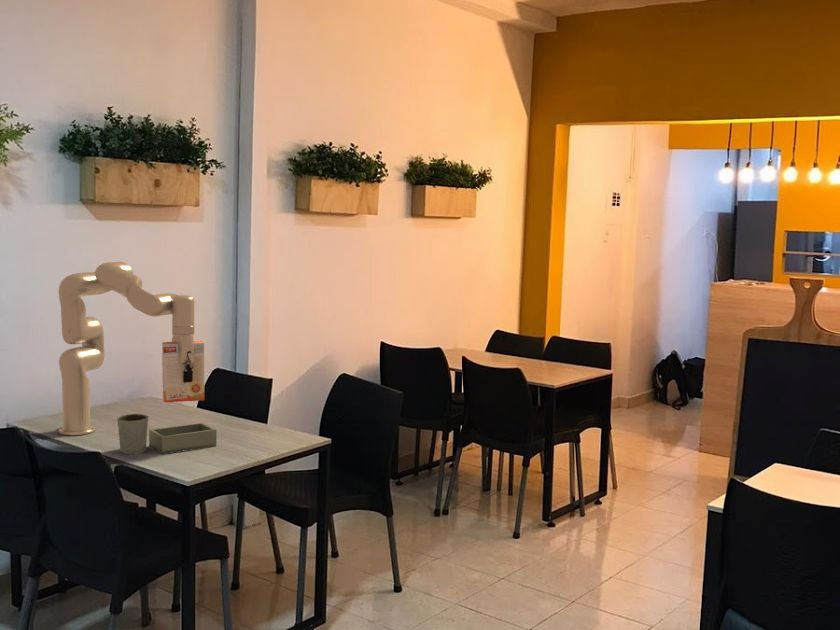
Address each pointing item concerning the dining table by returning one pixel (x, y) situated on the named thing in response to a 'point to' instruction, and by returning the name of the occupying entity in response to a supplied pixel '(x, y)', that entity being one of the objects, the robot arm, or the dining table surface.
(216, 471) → the dining table surface
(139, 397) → the dining table surface
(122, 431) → the grey-green cup
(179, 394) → the cracker box
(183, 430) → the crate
